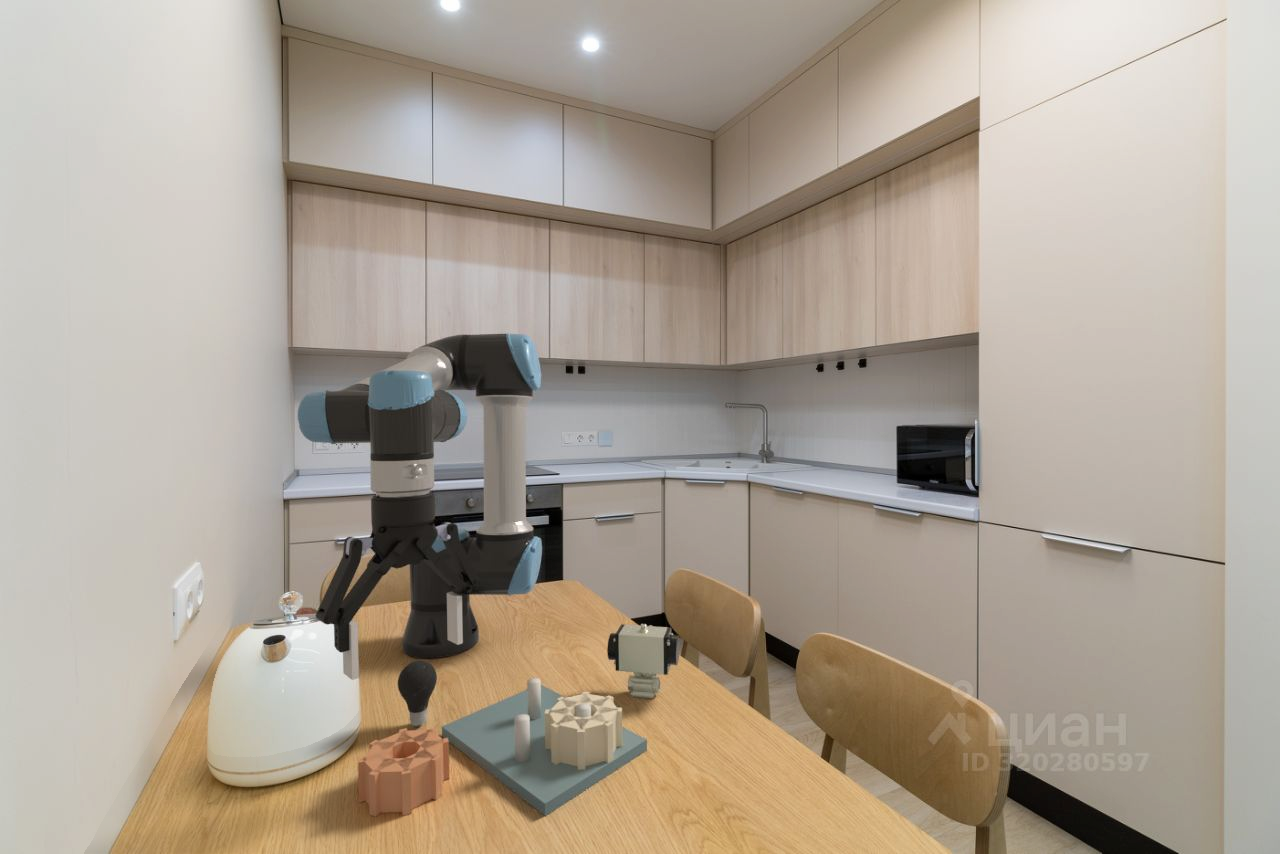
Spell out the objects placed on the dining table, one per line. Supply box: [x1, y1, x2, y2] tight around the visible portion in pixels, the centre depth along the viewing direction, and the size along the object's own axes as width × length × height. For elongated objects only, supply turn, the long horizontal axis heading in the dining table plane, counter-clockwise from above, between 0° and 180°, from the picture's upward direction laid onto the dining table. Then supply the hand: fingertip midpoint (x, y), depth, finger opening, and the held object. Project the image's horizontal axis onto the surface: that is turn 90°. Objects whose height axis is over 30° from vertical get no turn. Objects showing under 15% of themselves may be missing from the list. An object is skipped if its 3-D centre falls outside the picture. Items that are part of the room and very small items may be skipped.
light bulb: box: [397, 659, 438, 728], centre depth 88 cm, size 6×6×10 cm
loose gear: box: [357, 727, 450, 817], centre depth 74 cm, size 10×10×5 cm
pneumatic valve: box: [606, 623, 681, 699], centre depth 98 cm, size 6×12×12 cm, turn 78°
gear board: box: [441, 677, 648, 816], centre depth 83 cm, size 25×18×7 cm
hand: (406, 657), depth 73 cm, fingers open, 13 cm apart
